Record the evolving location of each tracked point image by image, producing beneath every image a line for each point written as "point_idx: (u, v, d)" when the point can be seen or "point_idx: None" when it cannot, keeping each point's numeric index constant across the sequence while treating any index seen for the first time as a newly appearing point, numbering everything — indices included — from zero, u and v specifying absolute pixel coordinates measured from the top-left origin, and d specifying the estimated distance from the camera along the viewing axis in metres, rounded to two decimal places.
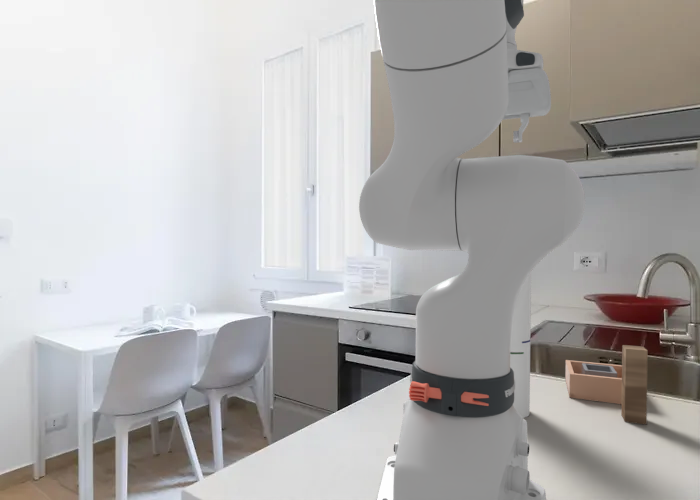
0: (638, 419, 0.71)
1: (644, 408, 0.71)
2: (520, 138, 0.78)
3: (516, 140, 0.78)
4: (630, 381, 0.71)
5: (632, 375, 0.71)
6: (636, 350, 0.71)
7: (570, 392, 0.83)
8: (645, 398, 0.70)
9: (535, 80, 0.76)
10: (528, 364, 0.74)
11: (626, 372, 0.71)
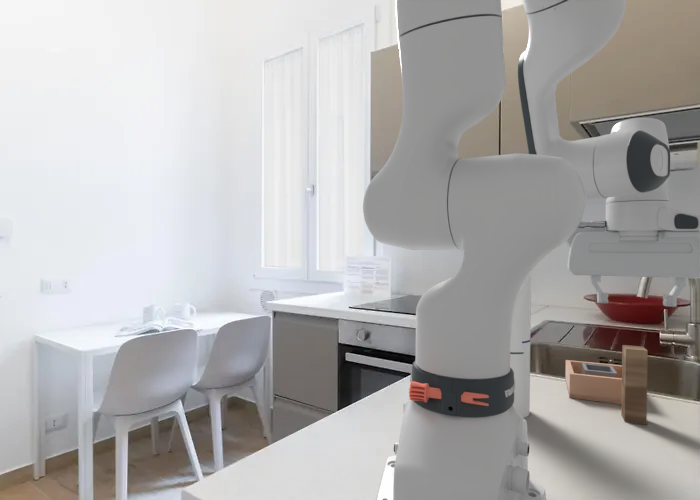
0: (638, 419, 0.71)
1: (644, 408, 0.71)
2: (674, 304, 0.69)
3: (669, 305, 0.70)
4: (630, 381, 0.71)
5: (632, 375, 0.71)
6: (636, 350, 0.71)
7: (570, 392, 0.83)
8: (645, 398, 0.70)
9: (696, 244, 0.67)
10: (528, 364, 0.74)
11: (626, 372, 0.71)
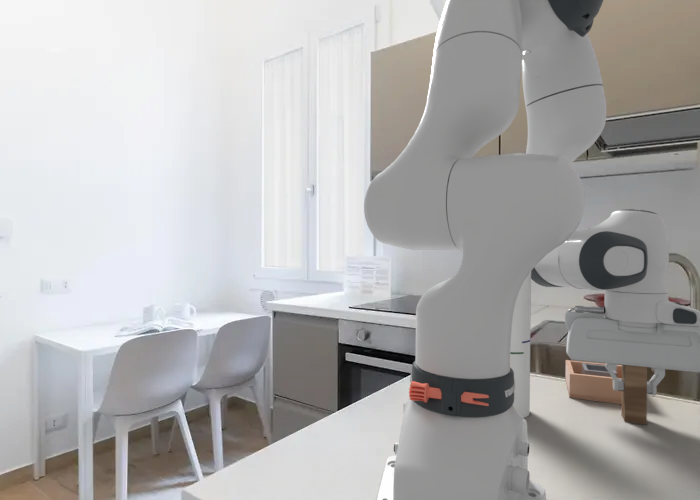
0: (638, 419, 0.71)
1: (644, 408, 0.71)
2: (654, 393, 0.71)
3: (649, 394, 0.71)
4: (630, 381, 0.71)
5: (631, 375, 0.71)
6: None
7: (570, 392, 0.83)
8: (645, 398, 0.70)
9: (695, 338, 0.67)
10: (528, 364, 0.74)
11: (626, 372, 0.71)
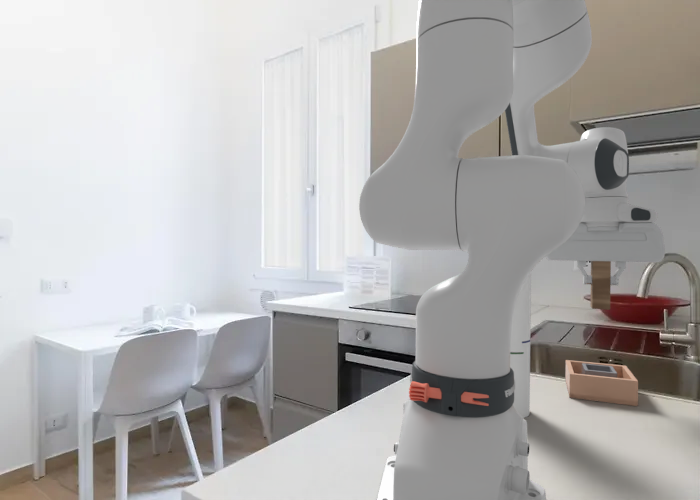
0: (603, 305, 0.84)
1: (608, 296, 0.84)
2: (617, 283, 0.84)
3: (612, 284, 0.84)
4: (596, 274, 0.84)
5: (598, 269, 0.84)
6: None
7: (570, 392, 0.83)
8: (609, 287, 0.84)
9: (649, 233, 0.81)
10: (528, 364, 0.74)
11: (593, 267, 0.85)
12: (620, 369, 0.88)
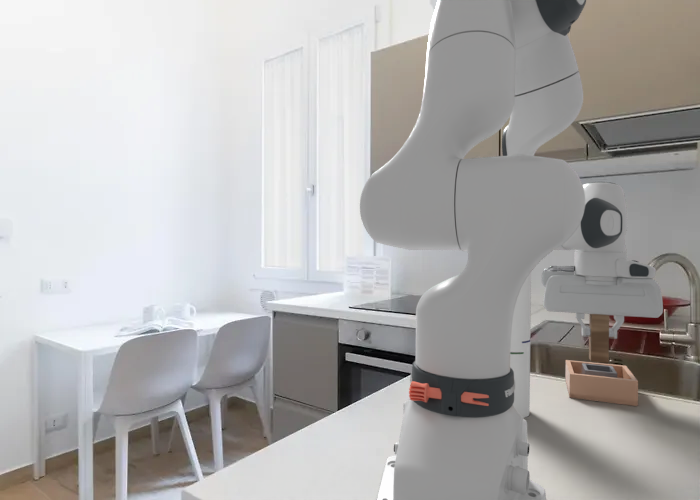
0: (602, 359, 0.84)
1: (606, 349, 0.84)
2: (615, 337, 0.84)
3: (611, 337, 0.84)
4: (595, 327, 0.85)
5: (596, 322, 0.85)
6: None
7: (570, 392, 0.83)
8: (607, 341, 0.84)
9: (647, 288, 0.81)
10: (528, 364, 0.74)
11: (592, 319, 0.85)
12: (620, 369, 0.88)
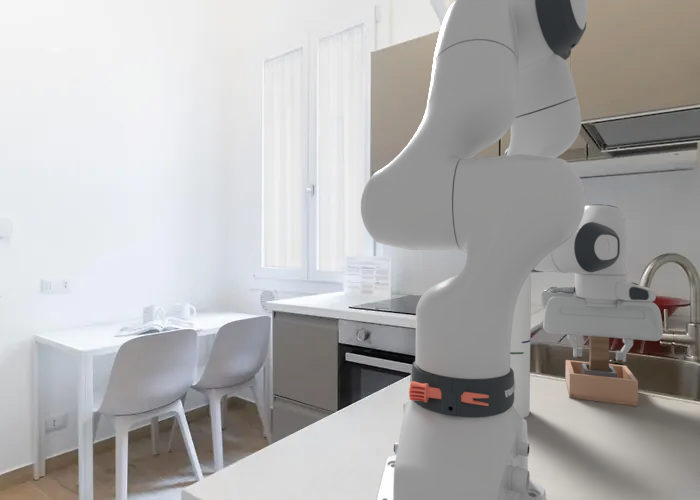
0: None
1: None
2: (624, 360, 0.83)
3: (620, 361, 0.84)
4: (595, 355, 0.85)
5: (596, 350, 0.85)
6: None
7: (570, 392, 0.83)
8: (607, 369, 0.84)
9: (647, 312, 0.81)
10: (528, 364, 0.74)
11: (592, 348, 0.85)
12: (620, 369, 0.88)
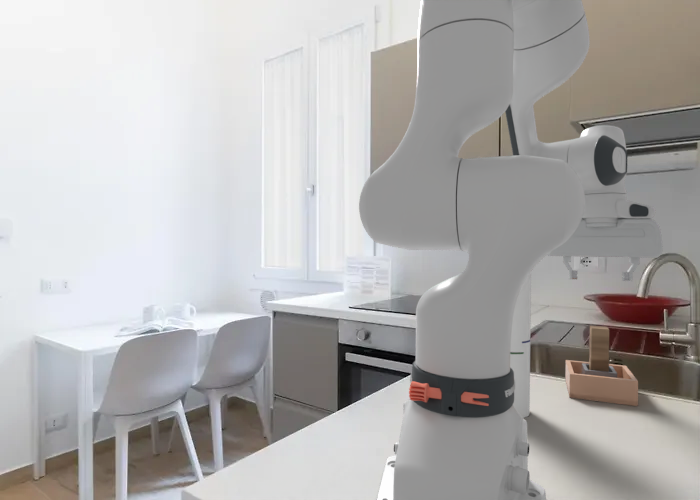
0: None
1: None
2: (631, 279, 0.84)
3: (626, 280, 0.84)
4: (595, 355, 0.85)
5: (596, 350, 0.85)
6: (600, 329, 0.84)
7: (570, 392, 0.83)
8: (607, 369, 0.84)
9: (647, 229, 0.82)
10: (528, 364, 0.74)
11: (592, 348, 0.85)
12: (620, 369, 0.88)
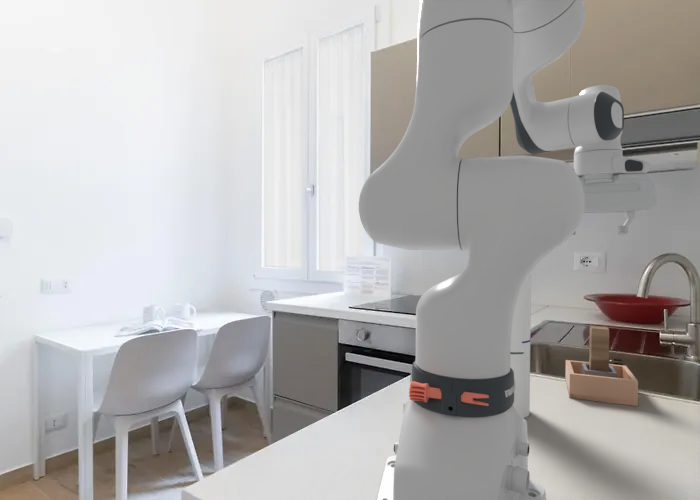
0: None
1: None
2: (626, 232, 0.88)
3: (622, 233, 0.89)
4: (595, 355, 0.85)
5: (596, 350, 0.85)
6: (600, 329, 0.84)
7: (570, 392, 0.83)
8: (607, 369, 0.84)
9: (642, 183, 0.86)
10: (528, 364, 0.74)
11: (592, 348, 0.85)
12: (620, 369, 0.88)
